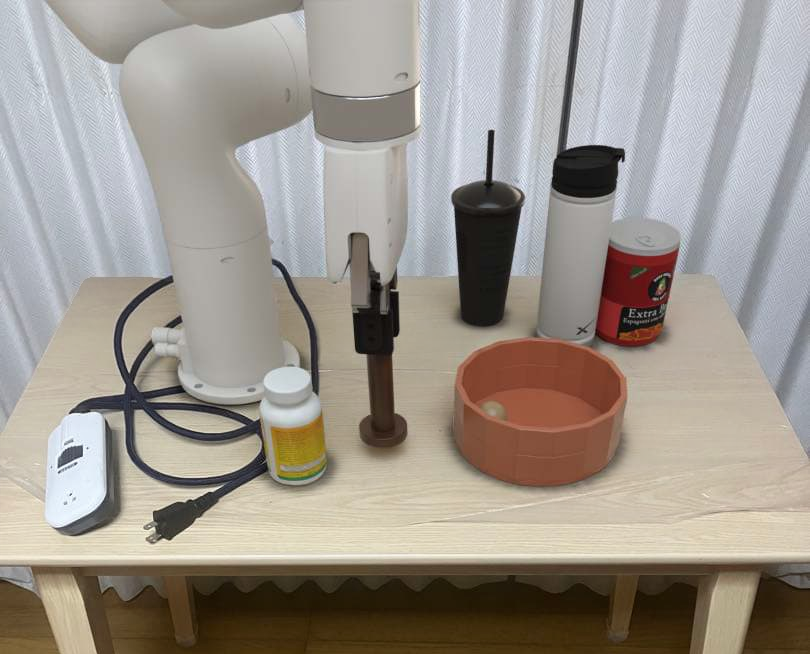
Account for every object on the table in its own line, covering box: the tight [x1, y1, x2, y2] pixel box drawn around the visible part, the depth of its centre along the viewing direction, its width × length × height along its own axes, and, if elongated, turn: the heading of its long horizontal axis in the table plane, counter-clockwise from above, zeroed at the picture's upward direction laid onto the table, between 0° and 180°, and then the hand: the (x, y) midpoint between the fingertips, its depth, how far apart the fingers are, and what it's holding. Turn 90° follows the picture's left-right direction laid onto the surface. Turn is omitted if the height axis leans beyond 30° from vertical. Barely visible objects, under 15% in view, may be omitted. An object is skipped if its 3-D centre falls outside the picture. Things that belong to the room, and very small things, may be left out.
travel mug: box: [535, 144, 626, 348], centre depth 87 cm, size 6×7×20 cm
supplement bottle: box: [258, 367, 328, 486], centre depth 75 cm, size 5×5×10 cm
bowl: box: [453, 336, 628, 487], centre depth 79 cm, size 15×15×6 cm
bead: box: [479, 401, 507, 421], centre depth 80 cm, size 3×3×3 cm
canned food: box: [595, 217, 682, 347], centre depth 92 cm, size 8×8×11 cm
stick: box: [358, 283, 409, 449], centre depth 74 cm, size 4×4×15 cm
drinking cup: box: [450, 129, 526, 327], centre depth 91 cm, size 8×8×20 cm
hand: (377, 342), depth 73 cm, fingers closed on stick, 2 cm apart
